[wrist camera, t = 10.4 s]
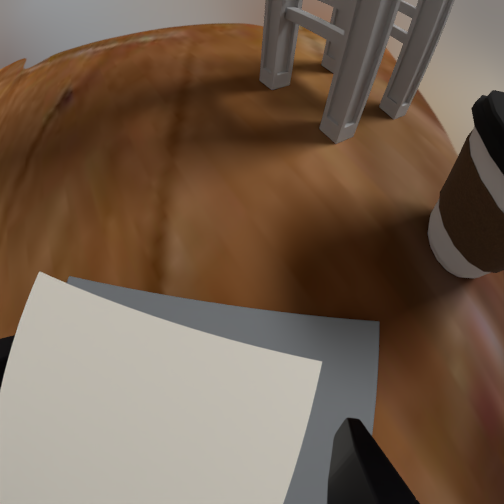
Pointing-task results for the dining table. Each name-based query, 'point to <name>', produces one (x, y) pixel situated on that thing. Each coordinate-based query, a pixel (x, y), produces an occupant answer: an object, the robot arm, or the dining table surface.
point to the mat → (294, 343)
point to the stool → (354, 53)
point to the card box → (144, 409)
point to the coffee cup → (474, 198)
